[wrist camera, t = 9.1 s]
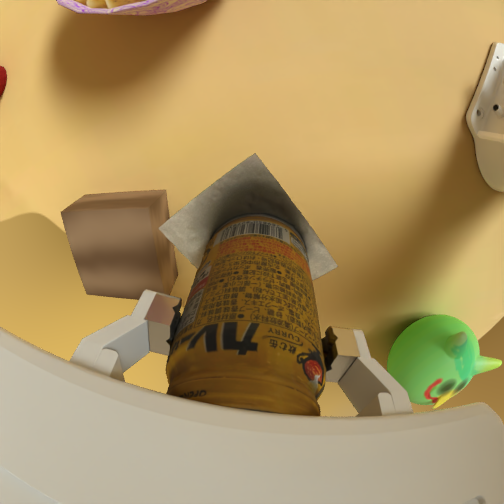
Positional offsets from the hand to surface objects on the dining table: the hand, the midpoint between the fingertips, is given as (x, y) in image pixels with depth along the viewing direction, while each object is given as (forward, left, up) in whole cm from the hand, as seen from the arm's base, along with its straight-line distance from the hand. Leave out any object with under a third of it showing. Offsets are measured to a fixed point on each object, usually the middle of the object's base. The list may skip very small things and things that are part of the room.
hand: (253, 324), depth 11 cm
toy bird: (+18, +34, -23) cm, 44 cm away
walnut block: (+11, -15, -23) cm, 29 cm away
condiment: (0, -1, -7) cm, 7 cm away
